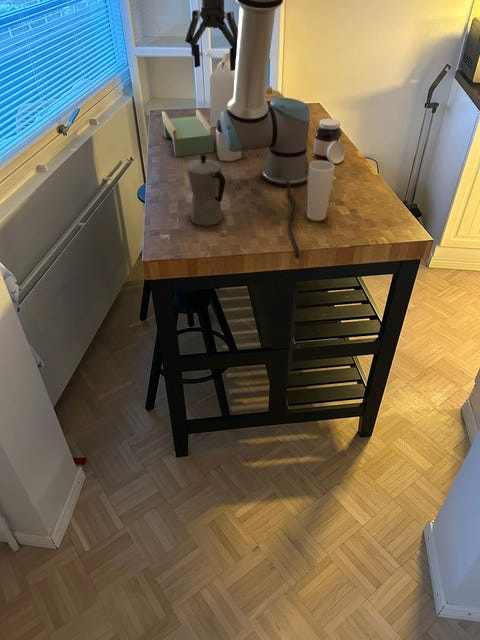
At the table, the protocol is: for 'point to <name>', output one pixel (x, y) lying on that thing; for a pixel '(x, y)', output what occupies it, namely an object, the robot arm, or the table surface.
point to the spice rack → (189, 134)
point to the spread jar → (329, 141)
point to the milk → (221, 88)
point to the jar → (224, 146)
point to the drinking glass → (319, 189)
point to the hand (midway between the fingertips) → (215, 68)
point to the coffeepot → (206, 191)
